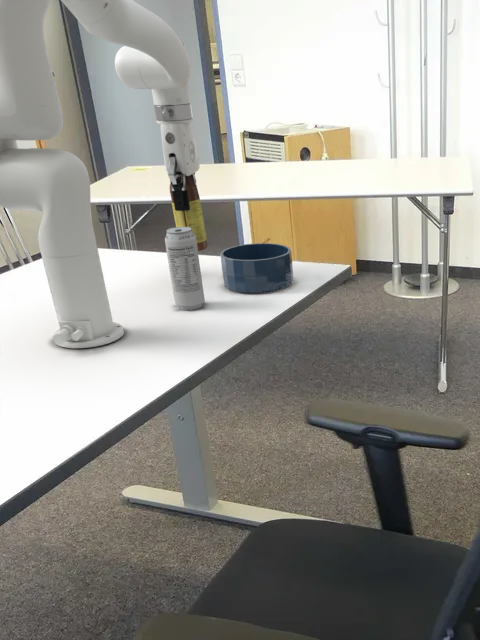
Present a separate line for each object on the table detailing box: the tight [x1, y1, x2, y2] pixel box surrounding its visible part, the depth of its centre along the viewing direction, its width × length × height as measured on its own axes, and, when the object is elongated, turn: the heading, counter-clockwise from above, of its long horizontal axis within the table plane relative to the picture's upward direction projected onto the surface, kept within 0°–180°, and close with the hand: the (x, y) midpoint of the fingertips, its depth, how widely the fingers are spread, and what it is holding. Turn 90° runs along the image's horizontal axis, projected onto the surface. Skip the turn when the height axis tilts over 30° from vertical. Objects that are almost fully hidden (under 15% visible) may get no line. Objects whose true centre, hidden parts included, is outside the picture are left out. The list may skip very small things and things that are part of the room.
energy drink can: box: [164, 226, 206, 311], centre depth 153 cm, size 6×6×15 cm
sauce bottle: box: [169, 172, 208, 252], centre depth 168 cm, size 6×6×20 cm
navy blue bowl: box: [219, 242, 294, 294], centre depth 167 cm, size 15×15×7 cm
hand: (187, 206), depth 168 cm, fingers closed on sauce bottle, 6 cm apart
